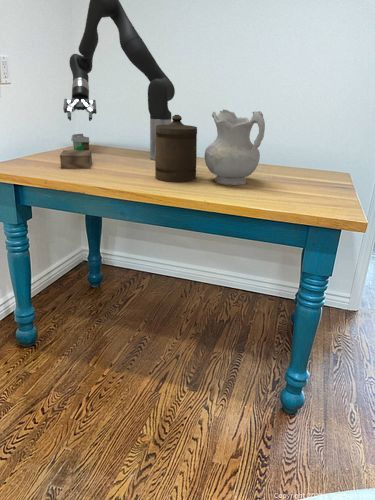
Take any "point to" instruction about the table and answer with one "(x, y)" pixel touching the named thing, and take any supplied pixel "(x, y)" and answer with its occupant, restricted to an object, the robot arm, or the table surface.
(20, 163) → the table surface
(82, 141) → the food container
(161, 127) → the wooden container
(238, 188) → the table surface
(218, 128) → the ceramic pitcher
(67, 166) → the walnut block
